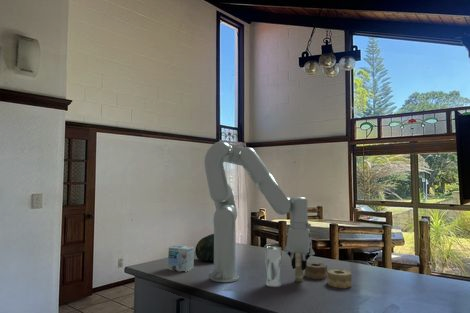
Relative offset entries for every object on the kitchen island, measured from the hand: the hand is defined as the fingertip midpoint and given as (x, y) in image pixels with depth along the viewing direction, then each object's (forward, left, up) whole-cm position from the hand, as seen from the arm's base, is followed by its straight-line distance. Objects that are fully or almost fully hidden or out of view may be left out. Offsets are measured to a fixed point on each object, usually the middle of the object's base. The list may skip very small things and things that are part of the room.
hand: (299, 268), depth 146 cm
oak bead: (+4, -16, -5) cm, 17 cm away
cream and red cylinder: (0, 0, -5) cm, 5 cm away
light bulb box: (-12, +55, -6) cm, 57 cm away
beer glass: (-11, +7, -5) cm, 14 cm away
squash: (+11, +54, -6) cm, 55 cm away
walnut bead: (+11, -4, -5) cm, 13 cm away
